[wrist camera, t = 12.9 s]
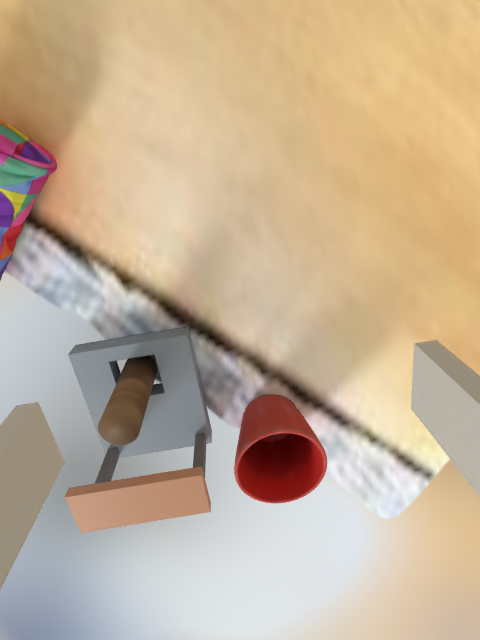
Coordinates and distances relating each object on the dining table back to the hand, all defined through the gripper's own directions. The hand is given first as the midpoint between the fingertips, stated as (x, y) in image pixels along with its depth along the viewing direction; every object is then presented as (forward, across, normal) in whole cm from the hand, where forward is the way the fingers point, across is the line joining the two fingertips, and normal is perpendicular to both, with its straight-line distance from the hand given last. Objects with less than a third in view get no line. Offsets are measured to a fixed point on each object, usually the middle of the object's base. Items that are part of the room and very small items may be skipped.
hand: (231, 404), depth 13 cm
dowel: (+31, -13, -15) cm, 37 cm away
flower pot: (+31, +2, -25) cm, 40 cm away
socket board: (+31, -13, -18) cm, 38 cm away
